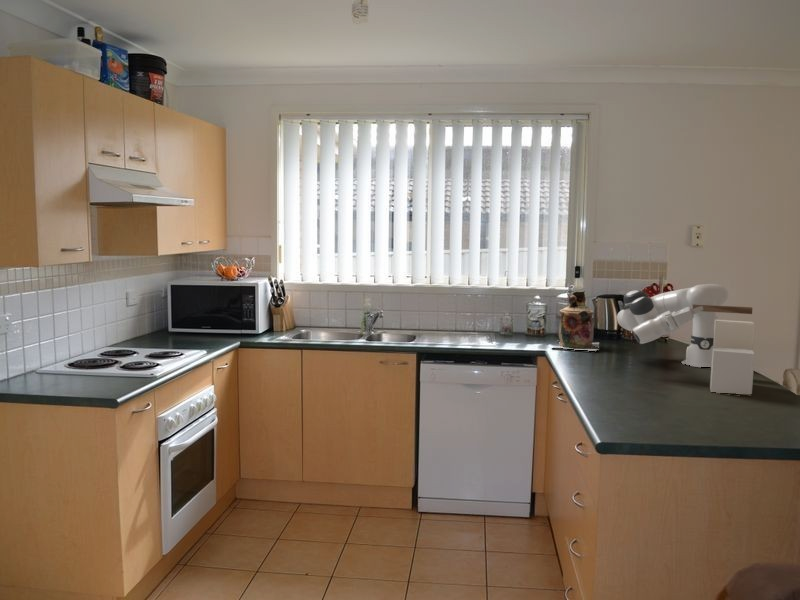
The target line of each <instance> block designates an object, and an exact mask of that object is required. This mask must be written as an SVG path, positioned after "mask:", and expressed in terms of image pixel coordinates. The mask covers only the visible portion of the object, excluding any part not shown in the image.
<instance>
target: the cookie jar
mask: <svg viewBox="0 0 800 600" xmlns="http://www.w3.org/2000/svg"><path fill="white" fill-rule="evenodd" d="M585 292H586V290H585V289H583V290H582V291H578V290H576V291H574V292H572V293H570V294H569V296H568V299H567V300H568V303H569V304H568V305H567V306H566V307H564V308H562V309H559V314H560V323H559V326H558V338H559V341H560V342H559V345H560V346H563V347H569V348H563V349H562V350H567V349H573V348H582V349H574V350H573V351H575V350H588V351H587V352H589V351H595V352H596V351H597V350H598V351H599V350H600V342H593V340H594V326H595V318H594V317H593V315H594V314H595V311H594V310H591V309H590V308H589V307H588V306H587V305H586V294H585ZM593 346H595V347H598V348H599V349H585V348H591V347H593ZM553 348H561V347H553Z"/></svg>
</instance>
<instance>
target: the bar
mask: <svg viewBox="0 0 800 600" xmlns="http://www.w3.org/2000/svg"><path fill="white" fill-rule="evenodd" d="M699 306H702V307H703V310H701V311H706V312H715V313H723V314H724V313H726V314H743V315H745V314H747V315H752V314H753V307H751V306H733V305H719V306H717V305H698V304H693V308H692V309H695V308H697V307H699Z"/></svg>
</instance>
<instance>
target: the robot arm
mask: <svg viewBox="0 0 800 600" xmlns="http://www.w3.org/2000/svg"><path fill="white" fill-rule="evenodd" d="M649 296H650V294H649V293H645V292H644V291H643V290H635V289H634V290H630V291H628V292H627V293H626V294H624V296H623V304H624V306H623V309H621V310H620V311H619V312H618V313H617V315H616V322H617V323H618V325H619V326H620V327H621V328H623V329H624V330H627V331H629V332H632V335H633V336H634V338H635V340H636V341H637V343H638V344H640V345H643V344H646V343H650V342H653V341H656V340H658V339H659V338H661V337H663V336H664V335H669V334H671V333H673V332H675V331H678V330H680V327H681V326H682V325H685V324H686V323H688V322H690V321H691V320H692V332H691V333H692V335H691V336H690V345H688V346H687V347H686V350H685V359H684V360H682V361H681V363H682V364H681V365H685V364H686V365H687V366H689V365H690V367H694V368H701V367H711V363H712V348H713V341H714V326H715V320H719V319H718V318H717V315H716V313H717V312H706V311H701V310H703V307H702V306H699V307H697V308H695V309H692V308H693V304H698V305H717V306H722V305H723V304H725V303H726V302H727V300H728V298H729V292H728V290H727V288H726V287H724V286H723V285H721V284H717V283H706V284H703V283H702V284H696V285H694V286H692V287H687V288H686V287H685V288H681V289H676V290H670V291H665V292H662V293H658V294H655V295H653V296H651V297H649Z"/></svg>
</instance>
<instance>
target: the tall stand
mask: <svg viewBox="0 0 800 600" xmlns="http://www.w3.org/2000/svg"><path fill="white" fill-rule="evenodd" d="M755 329H756V324H755V323H754V322H753V321H744V320H729V319H728V320H727V319H718V320H715V326H714V341H713V347H719V348H732V349H745V350H752V351H753V352H754V345H755V344H754V343H755V332H756V331H755Z"/></svg>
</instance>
